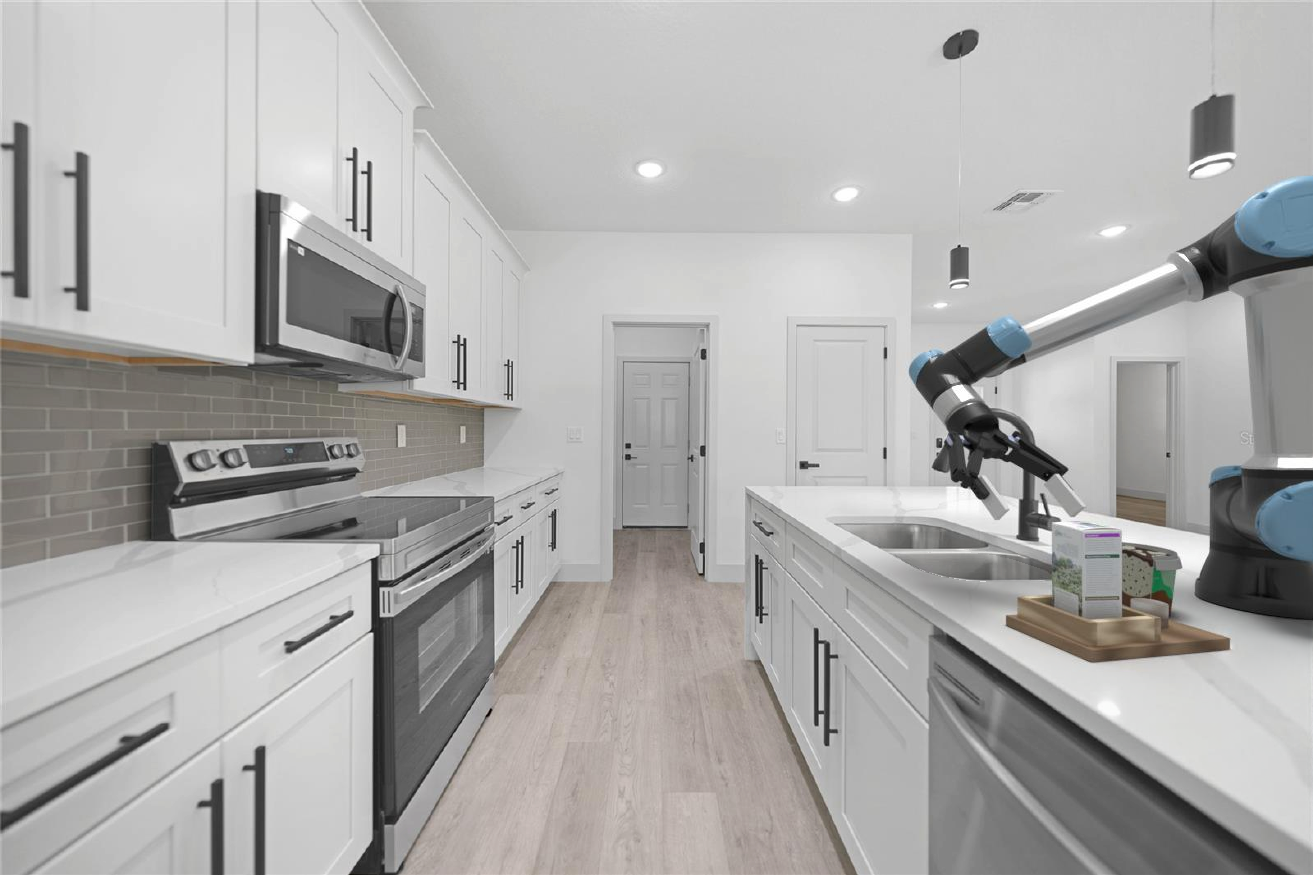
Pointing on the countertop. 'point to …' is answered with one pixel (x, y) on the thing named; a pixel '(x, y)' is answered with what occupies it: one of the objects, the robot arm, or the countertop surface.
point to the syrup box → (1087, 569)
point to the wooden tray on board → (1113, 631)
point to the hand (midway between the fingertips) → (1041, 513)
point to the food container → (1148, 573)
